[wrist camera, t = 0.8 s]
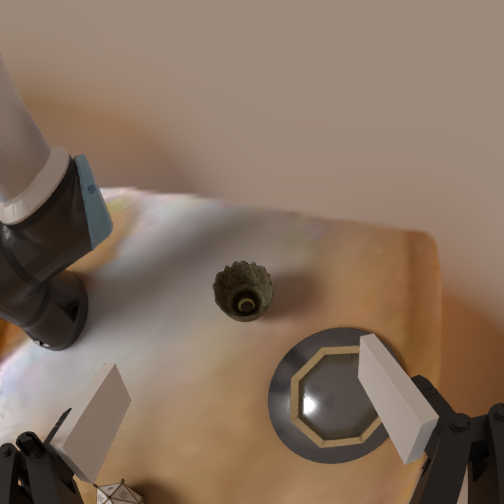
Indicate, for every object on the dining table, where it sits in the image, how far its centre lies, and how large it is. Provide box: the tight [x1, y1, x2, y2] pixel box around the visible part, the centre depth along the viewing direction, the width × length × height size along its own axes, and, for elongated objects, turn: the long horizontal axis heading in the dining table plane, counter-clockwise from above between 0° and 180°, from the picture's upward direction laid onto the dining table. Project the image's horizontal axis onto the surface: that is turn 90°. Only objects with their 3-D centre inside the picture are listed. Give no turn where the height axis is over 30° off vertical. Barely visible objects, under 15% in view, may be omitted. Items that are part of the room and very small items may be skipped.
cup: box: [213, 261, 274, 322], centre depth 38 cm, size 8×7×8 cm
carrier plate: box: [268, 328, 402, 464], centre depth 33 cm, size 20×20×2 cm
